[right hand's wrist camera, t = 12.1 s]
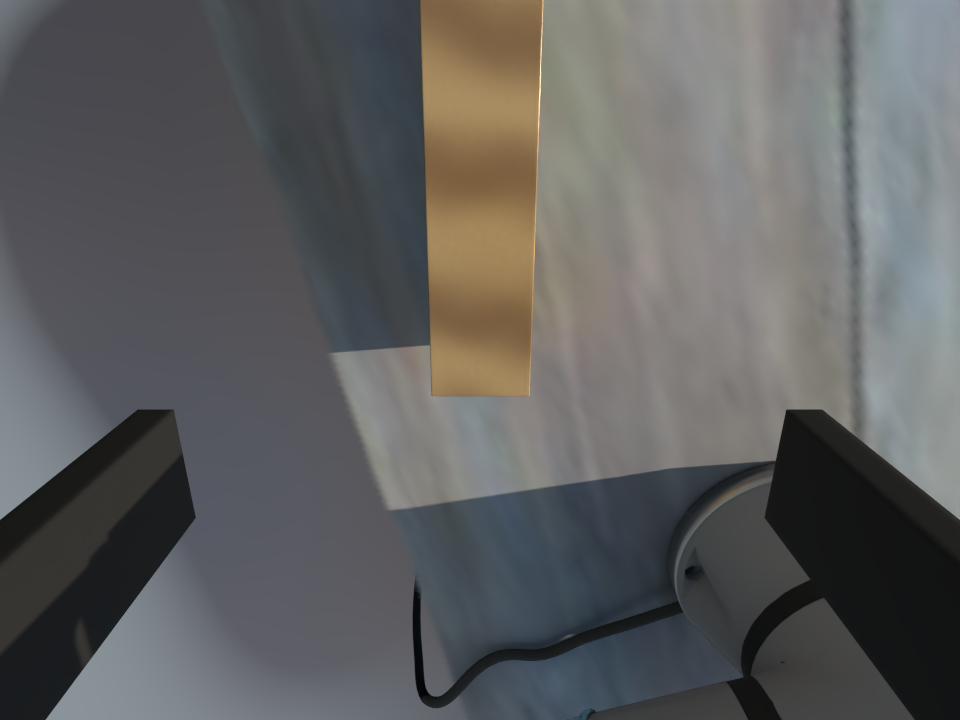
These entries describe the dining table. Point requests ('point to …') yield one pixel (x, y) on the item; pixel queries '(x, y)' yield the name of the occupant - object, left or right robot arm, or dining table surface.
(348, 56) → the dining table surface
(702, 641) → the dining table surface
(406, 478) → the dining table surface
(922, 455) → the dining table surface
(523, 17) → the post
